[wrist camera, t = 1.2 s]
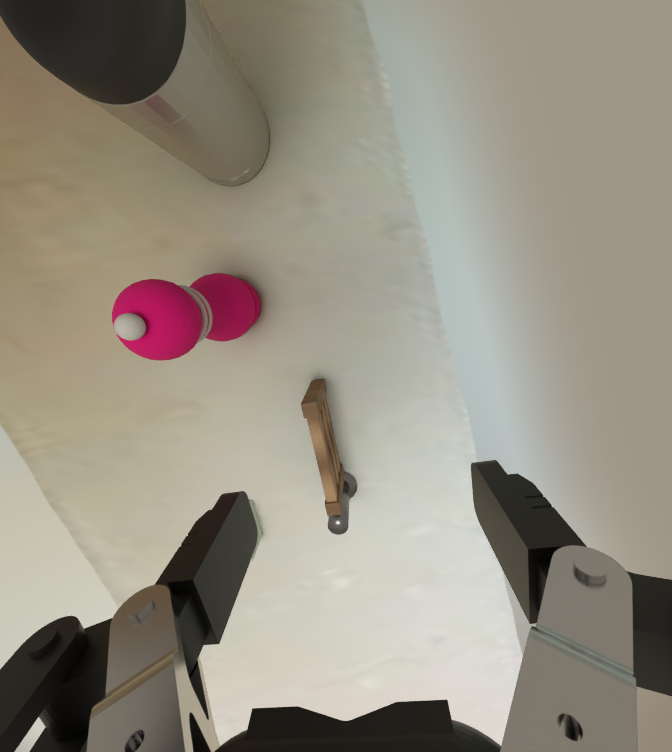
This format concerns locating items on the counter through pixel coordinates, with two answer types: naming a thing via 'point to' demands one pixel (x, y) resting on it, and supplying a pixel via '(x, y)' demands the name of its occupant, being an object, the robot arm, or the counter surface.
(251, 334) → the counter surface
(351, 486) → the hinge post
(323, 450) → the gate
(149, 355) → the pepper mill
